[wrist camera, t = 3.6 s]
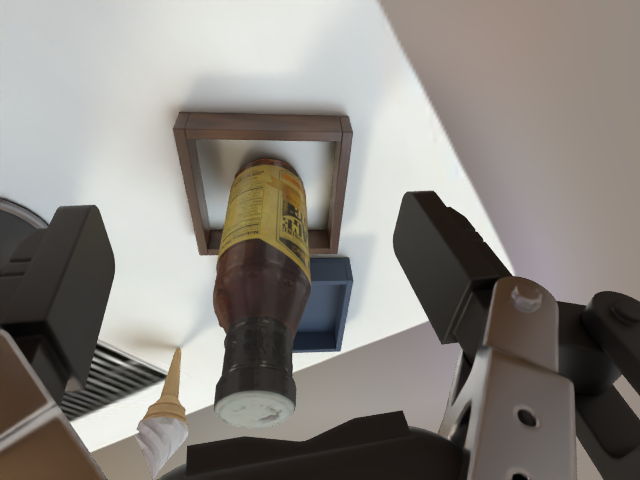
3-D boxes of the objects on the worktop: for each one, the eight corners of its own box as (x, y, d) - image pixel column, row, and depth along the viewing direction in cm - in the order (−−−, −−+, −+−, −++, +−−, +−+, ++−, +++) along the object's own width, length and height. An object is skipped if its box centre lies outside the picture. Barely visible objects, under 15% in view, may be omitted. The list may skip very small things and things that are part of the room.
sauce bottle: (309, 207, 36) (327, 434, 22) (241, 216, 37) (216, 447, 22) (298, 144, 32) (312, 379, 18) (221, 154, 32) (173, 396, 18)
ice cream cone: (151, 337, 49) (114, 474, 38) (197, 335, 49) (174, 470, 39) (162, 361, 53) (131, 490, 42) (205, 359, 53) (186, 487, 42)
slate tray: (239, 332, 50) (238, 354, 47) (229, 258, 40) (226, 282, 38) (337, 329, 51) (340, 351, 48) (349, 257, 42) (353, 280, 39)
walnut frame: (203, 236, 38) (199, 255, 36) (179, 111, 29) (172, 128, 28) (334, 236, 39) (337, 254, 37) (349, 115, 31) (353, 132, 29)
